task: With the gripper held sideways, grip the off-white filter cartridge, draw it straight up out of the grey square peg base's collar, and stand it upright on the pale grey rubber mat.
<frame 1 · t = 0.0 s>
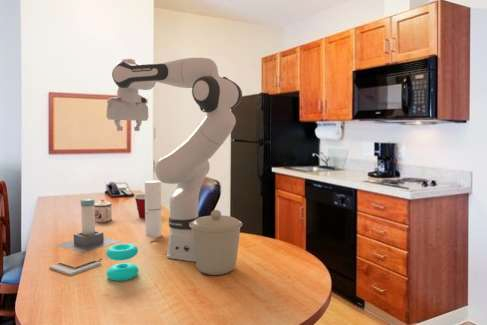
hand: (128, 130, 159), 48 cm above the table, tool pointing down, fingers open, 8 cm apart
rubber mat: (75, 266, 131), on the table
grey square peg base: (89, 246, 154), on the table
donuts: (122, 276, 123), on the table
cylindrical container: (153, 235, 170), on the table
plastic cup: (144, 217, 207), on the table
teacup with lid: (104, 221, 197), on the table
filter cartridge: (88, 242, 153), point 1 cm above the table, touching grey square peg base
canister: (216, 270, 128), on the table
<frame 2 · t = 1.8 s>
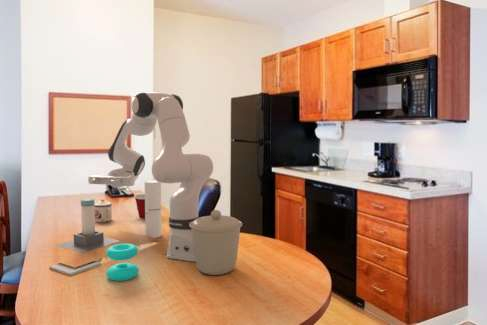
hand: (102, 182, 163), 25 cm above the table, tool horizontal, fingers open, 8 cm apart
nothing on the table moved.
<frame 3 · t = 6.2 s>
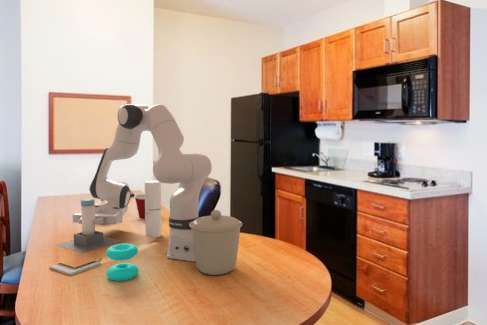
hand: (87, 222, 152), 11 cm above the table, tool horizontal, fingers closed on filter cartridge, 5 cm apart
filter cartridge: (88, 242, 153), point 2 cm above the table, touching grey square peg base, gripper
everything else where it was.
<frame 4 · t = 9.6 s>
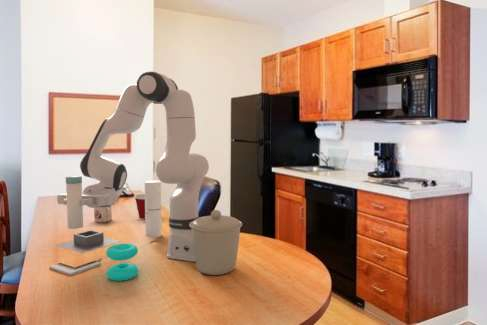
hand: (73, 202, 130), 23 cm above the table, tool horizontal, fingers closed on filter cartridge, 5 cm apart
filter cartridge: (75, 227, 131), point 14 cm above the table, touching gripper
everything else where it was.
when the fingers open (11 cm above the table, at t = 13.2 s): filter cartridge stays where it is, resting on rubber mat.
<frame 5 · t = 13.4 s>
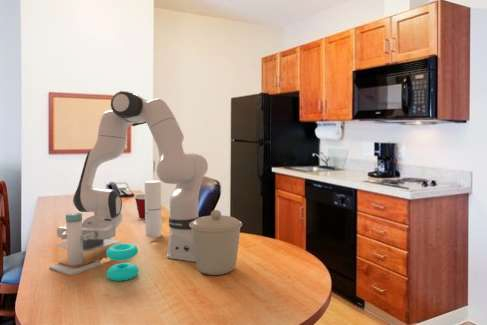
hand: (73, 237, 129), 11 cm above the table, tool horizontal, fingers open, 7 cm apart
filter cartridge: (75, 264, 131), point 1 cm above the table, touching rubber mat
everything else where it was.
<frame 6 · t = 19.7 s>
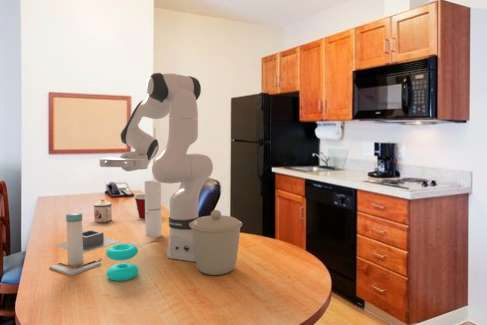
hand: (115, 164, 155), 34 cm above the table, tool horizontal, fingers open, 8 cm apart
nothing on the table moved.
at the end: filter cartridge inside the target area on the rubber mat (0.0 cm from its centre), point 0.8 cm above the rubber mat's base; filter cartridge tilted 1°; the gripper is holding nothing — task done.
